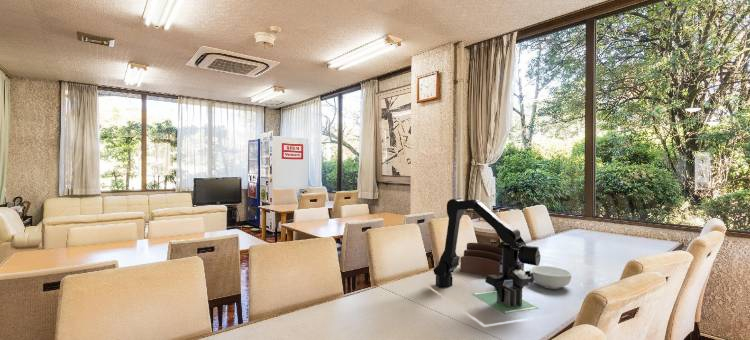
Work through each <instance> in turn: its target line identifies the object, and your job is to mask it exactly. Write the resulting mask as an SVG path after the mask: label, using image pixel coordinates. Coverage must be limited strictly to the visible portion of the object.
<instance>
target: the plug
mask: <svg viewBox="0 0 750 340" xmlns="http://www.w3.org/2000/svg"><path fill="white" fill-rule="evenodd" d="M505 286H507V287H506V288H505V289H504V302H501V300H500V298H499V296H498V293H497V302H499V303H501V304H503V305H505V306H506V307H508V308H509V307H510V305H512V306H514V307H516V304H518V305H520V306H522V300H523V289H522V290H521V289H519V288H517V287H515V286H513V285H511V284H509V285H505Z"/></svg>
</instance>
